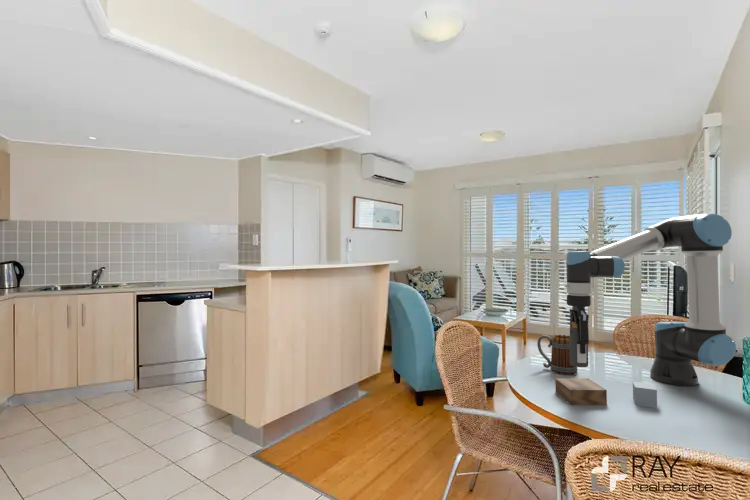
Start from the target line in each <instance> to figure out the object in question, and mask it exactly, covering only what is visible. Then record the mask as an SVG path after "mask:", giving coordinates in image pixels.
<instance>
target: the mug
mask: <svg viewBox="0 0 750 500" xmlns="http://www.w3.org/2000/svg"><path fill="white" fill-rule="evenodd" d="M569 336H570V335H567V334H555V335H553V336H552V337H551V336H549V335H548V334H543V335H541V336H540V337H539V338H538V339H537V343H536V345H537V350H538V352H539V353H540V355H541V356H542V357H543V358H544V360H545V361H546V362H547V363H546V362H543V363H542V365H543V367H544V368H546V369H548V368H550V370H551V371H552V373H555V374H557V375H563V376H573V375H576V374H577V373H578V367H575V366H572V365H570V345H569ZM543 339H546V340H548V342H549V343H548V344H547V347H548V348H551V357H548V356H547V355H546V354H545V353H544V351H543V348H542V345H541V341H542V340H543Z"/></svg>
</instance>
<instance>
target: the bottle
mask: <svg viewBox="0 0 750 500" xmlns="http://www.w3.org/2000/svg"><path fill="white" fill-rule="evenodd" d="M571 324H572V327H571V330H572V333H571V334H570V333H569V335H568V336H569V345H570V365H572V366H575V367H577V368H588V367H589V344H586V359H587V363H578V362H577V344H576V342H578V334H577V324H575V322H571Z"/></svg>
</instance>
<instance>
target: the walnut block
mask: <svg viewBox="0 0 750 500" xmlns="http://www.w3.org/2000/svg"><path fill="white" fill-rule="evenodd" d="M554 381H555V393H556V394H557V395H559V397H561V398H562V399H563V400H564V401H566V402H567V403H568V404H569V405H571V406H572V405H573V406H585V405H586V406H595V405H597V406H607V405H608V401H607V399H608V397H607V395H608V394H607V393H608V392H607V389H606V388H605V387H603V386H601V385H599V384H598V383H597V382H595V381H593V380H591V379H590V378H586V377H585V378H584V377H583V378H580V377H579V378H577V377H576V378H559V377H558V378H555V380H554Z"/></svg>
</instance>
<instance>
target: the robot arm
mask: <svg viewBox="0 0 750 500" xmlns="http://www.w3.org/2000/svg"><path fill="white" fill-rule="evenodd" d="M732 231H733V230H732V227H731V225H730V223H729V221H728V220H727V219H725V218H724V216H722V215H720V214H717V213H700V214H698V213H697V214H690V215H683V216H681V215H680V216H675V217H672V218H671V217H670V218H668V219H666V220H663V221H660V222H658V223H656V224H653V225H650V226H648V227H646V228H644V230H643V231H642V232H640V233H639V232H638V233H637V234H634V235H632V236H629V237H627V238H624V239H621V240H619V241H618V240H617V242H612V243H611V244H608V245H606V246H603V247H600V248H598V249H595V250H592V251H588V250H578V251H577V250H570V251H568V252H567V253H566V259H565V261H566V262H565V265H566V284H565V286H564V287H565V288H566V293H567V294H566V305H568V306H569V307H572V308H570V309H569V335H570V334H571V333H572V330H571V327H572V324H571V322H575V324H577V334H578V342H576V344H577V362H578V363H587V359H586V344H588V345H589V343H590V340H589V336H590V335H589V317H590V315H589V314H587V311H586V309H585V308H587V307H590V306H591V305H592V304H591V303H592V301H591V299H592V298H591V293H592V290H591V288H592V287H591V286H592V285H591V284H592V283H591V282H592V281H591V278H611V279H612V278H619V277H621V276H623V274H624V273H625V270H626V264H625V260H628V259H630V258H631V259H632V258H633V257H636V256H639V255H641V254H644V253H647V252H649V251H652V250H655V251H659V250H662V249H665V248H673V247H681V248H680V250H681V253H682V254H683V255H685V256H686V270H687V273H686V274H687V296H688V297H687V298H688V321H659V322H656V324H655V325H654V331H653V332H654V333H653V334H654V351H655V352H654V354H655V357H654V360H653V363H652V366H651V367H650V370H649V373H650V374H649V375H650V378H652V379H653V380H655V381H658V382H660V383H665V384H668V385H675V386H684V387H685V386H686V387H688V386H690V387H691V386H696V385H698V384H699V377H698V374H697V372H696V369H695V367H694V365H693V361H695V362H699V363H701V364H704V365H707V366H708V365H709V366H713V367H720V366H724V365H727V364H728V363H729V362H730V361H731V360H732V359H733V358H734V356H735V354H736V349H737V347H736V342H735V340H734V339H733V338H732V337H731V336H730V335H728V334H727V328H726V326H724V325H723V324H722V323H721V317H720V316H721V314H720V293H719V292H720V289H719V288H720V286H719V265H718V264H719V262H718V261H719V260H718V258H719V257H718V256H719V255H720V254H721V253H722V252H723V251H724V247H723V246H725V245H726V244H728V243H729V242H730V240H731V238H732V234H733V232H732Z"/></svg>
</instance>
